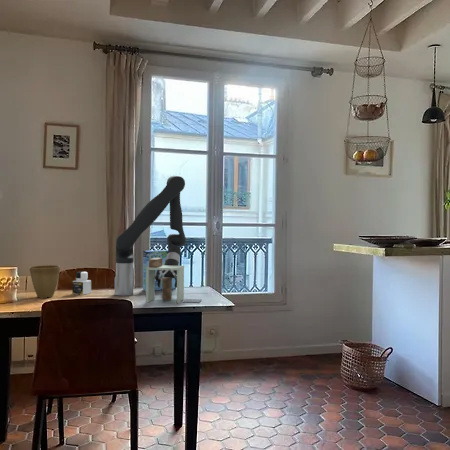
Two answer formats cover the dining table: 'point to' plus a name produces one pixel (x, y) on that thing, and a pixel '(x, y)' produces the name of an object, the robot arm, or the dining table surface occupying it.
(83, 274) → the medicine bottle
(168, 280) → the block
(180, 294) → the shelf
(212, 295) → the dining table surface
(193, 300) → the mat
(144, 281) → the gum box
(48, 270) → the plant pot
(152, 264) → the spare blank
